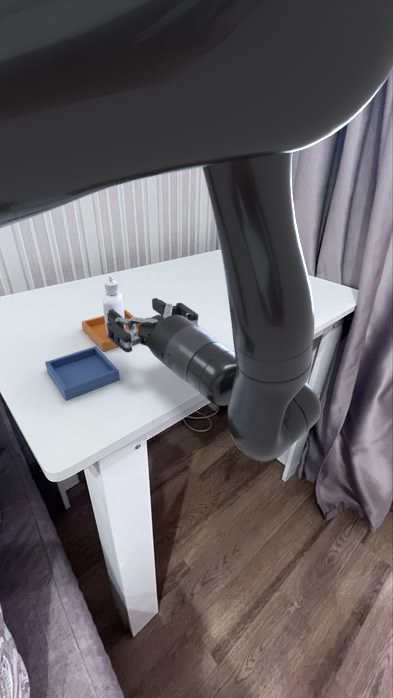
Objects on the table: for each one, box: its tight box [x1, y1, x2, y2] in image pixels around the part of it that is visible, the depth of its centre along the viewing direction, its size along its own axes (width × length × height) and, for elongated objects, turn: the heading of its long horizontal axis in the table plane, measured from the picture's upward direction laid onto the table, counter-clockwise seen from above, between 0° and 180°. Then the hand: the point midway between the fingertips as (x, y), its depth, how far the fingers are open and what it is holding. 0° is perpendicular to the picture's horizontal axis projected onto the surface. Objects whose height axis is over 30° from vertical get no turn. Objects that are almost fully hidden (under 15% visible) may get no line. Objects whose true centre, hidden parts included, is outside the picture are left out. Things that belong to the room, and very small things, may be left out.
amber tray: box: [81, 309, 139, 353], centre depth 69 cm, size 10×10×2 cm
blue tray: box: [44, 345, 121, 401], centre depth 56 cm, size 9×9×2 cm
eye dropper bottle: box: [102, 274, 125, 336], centre depth 66 cm, size 4×6×12 cm
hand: (132, 308), depth 58 cm, fingers open, 8 cm apart
